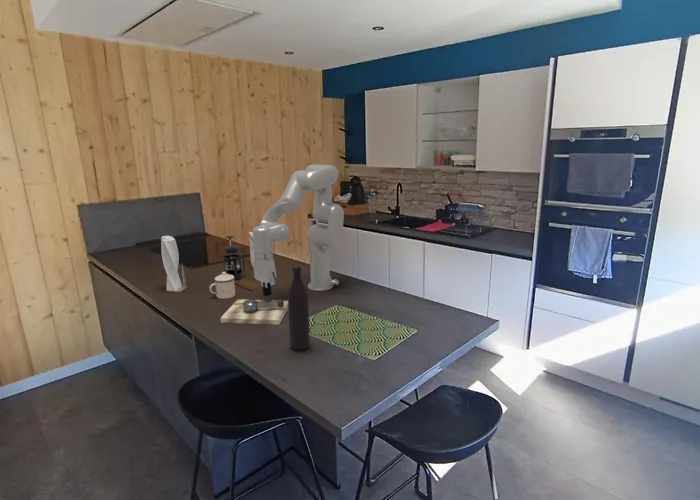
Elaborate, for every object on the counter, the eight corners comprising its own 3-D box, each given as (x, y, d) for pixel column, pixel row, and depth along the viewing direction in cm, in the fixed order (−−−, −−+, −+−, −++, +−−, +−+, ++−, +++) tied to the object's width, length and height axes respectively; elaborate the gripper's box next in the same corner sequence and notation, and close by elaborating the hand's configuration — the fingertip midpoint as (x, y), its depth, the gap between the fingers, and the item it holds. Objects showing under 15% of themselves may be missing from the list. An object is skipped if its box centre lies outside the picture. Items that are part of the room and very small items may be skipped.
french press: (226, 282, 212) (222, 239, 206) (220, 277, 220) (216, 236, 214) (248, 278, 219) (245, 236, 213) (241, 273, 226) (238, 233, 220)
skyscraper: (177, 293, 198) (170, 236, 191) (162, 292, 200) (155, 236, 192) (187, 287, 206) (181, 232, 199) (173, 286, 208) (166, 232, 200)
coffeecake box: (267, 269, 233) (265, 236, 228) (254, 271, 231) (252, 237, 226) (262, 262, 247) (260, 230, 242) (250, 263, 244) (248, 231, 239)
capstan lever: (234, 312, 168) (233, 306, 168) (235, 306, 174) (235, 300, 173) (284, 309, 172) (283, 302, 171) (283, 303, 177) (283, 297, 177)
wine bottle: (310, 341, 150) (307, 263, 143) (309, 351, 144) (306, 269, 136) (291, 341, 150) (287, 263, 142) (289, 351, 143) (285, 269, 135)
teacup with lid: (230, 290, 201) (228, 268, 198) (239, 296, 194) (237, 272, 191) (206, 296, 194) (204, 273, 190) (214, 302, 187) (212, 278, 184)
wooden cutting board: (290, 305, 183) (289, 299, 183) (279, 324, 164) (278, 318, 164) (237, 303, 185) (237, 297, 185) (220, 322, 166) (220, 316, 165)
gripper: (245, 254, 176) (249, 293, 181) (268, 260, 167) (271, 302, 172) (259, 250, 181) (263, 288, 187) (282, 256, 172) (285, 296, 177)
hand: (267, 295), depth 179 cm, fingers closed
